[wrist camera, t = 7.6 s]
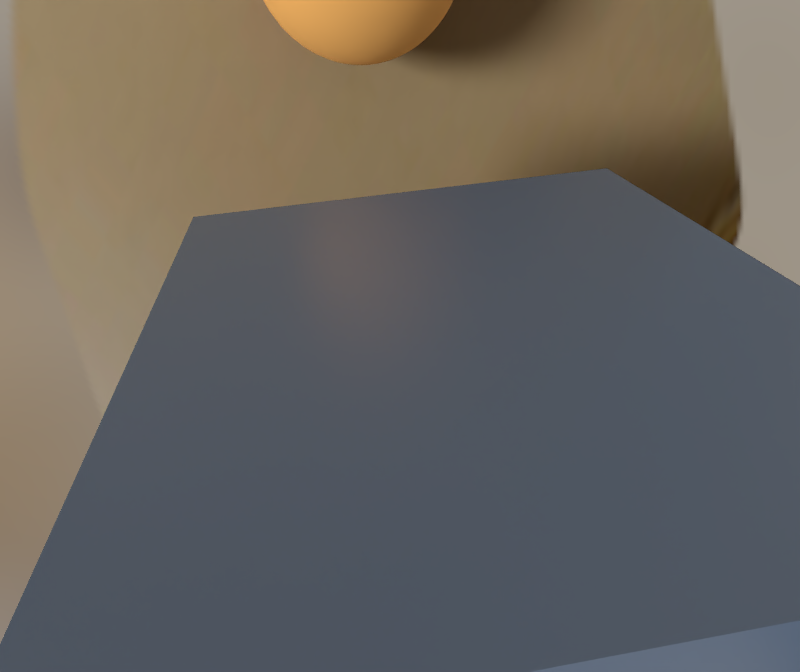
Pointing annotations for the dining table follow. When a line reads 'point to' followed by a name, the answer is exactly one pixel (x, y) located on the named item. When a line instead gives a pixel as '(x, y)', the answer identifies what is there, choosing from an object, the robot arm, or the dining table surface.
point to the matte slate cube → (441, 448)
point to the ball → (359, 26)
